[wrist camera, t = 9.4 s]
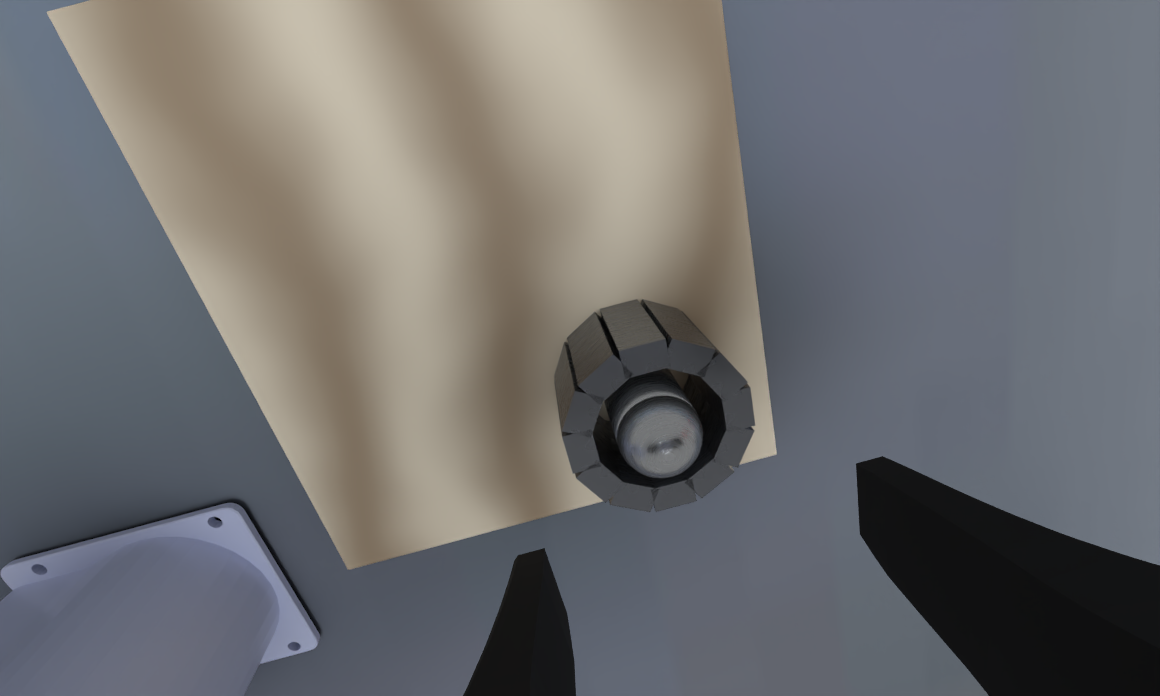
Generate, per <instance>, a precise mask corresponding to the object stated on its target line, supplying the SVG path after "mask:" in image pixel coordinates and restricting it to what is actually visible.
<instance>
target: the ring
mask: <svg viewBox="0 0 1160 696" xmlns="http://www.w3.org/2000/svg"><path fill="white" fill-rule="evenodd" d="M600 313H601V317H602V318H601V317H600V316H599V315H598V314H597V313H596V312H594V313H593V314H592V315H590V316H589V317H588V318H587V319H586V320H585V321H584V322H583V323H582V324H581V325H580V326H579V327H578V328H577V329H576V330H574V331H573V332H572V333H571V334H570V335H569V336H568V337H567V340H568V343H567V342H564V344H563V348H562V351H561V354H560V358H559V361H558V364H557V368H556V371H555V374H554V378H555V380H554V383H555V390H556V398H557V405H558V412H559V419H560V426H561V433H562V439H563V442H564V445H565V449H566V452H567V456H568V459H569V462H570V466H571V469H572V473H573V474H574V473H575V476H576V479H577V480H579V481H580V482H581V483H582V484H583V485H585V486H586V487H587V488H588V489H589V490H591V491H592V492H593V493H594V494H596V495H597V496H598V497H599V498H600V499H602V500H603V501H604V502H605V503H606V502H607V501H608V500H609V501H610V505H614V506H619V507H625V508H630V509H636V510H641V511H647V512H650V511H651V509H652V506H653V505H654V508H655V511H656V512H657V511H661V510H665V509H668V508H672V507H676V506H680V505H683V504H687V503H691V502H695V501H697V500H696V495H695V493H696V494H698V495H699V496H700V497H701V498H703V497H704V496H705V495H707V494H708V493H709V492H710V491H712V490H713V489H714V488H715V487H716V486H718V485H719V484H720V483H721V482H723V481H724V480H725V479H726V478H728V477H729V476H730V475H731V474H733V473H734V470H733V469H732V467H731V466H733V467H738V466H739V464H740V462H741V460H742V457H743V455H744V453H745V451H746V449H747V446H748V444H749V442H750V440H751V438H752V435H753V433H754V429H753V428H752V426H755V419H754V411H753V403H752V396H751V388H750V386H749V385H748V384H747V383H748V381H747V380H746V379H745V378H744V377H743V376H742V375H741V374H740V373H739V372H738V371H737V370H736V369H735V367H734V366H733V365H732V364H731V363H730V362H729V361H728V360H727V359H726V358H725V357H724V356H723V354H722V353H721V352H720V351H719V350H718V349H717V348H716V347H715V346H714V345H713V344H712V343H711V341H710V340H709V339H708V338H707V337H706V336H705V335H704V334H703V333H702V332H701V331H700V330H699V328H698V327H697V326H696V325H695V324H694V323H693V322H692V321H691V320H690V319H689V318H688V317H687V316H686V314H685V313H684V312H683V311H680V310H679V309H678V308H675V307H671V306H667V305H663V304H660V303H656V302H652V301H648V300H644V299H642V301H641V304H640V302H639V301H638V300H637V299H635V300H631V301H627V302H624V303H620V304H616V305H612V306H608V307H605V308H601V309H600ZM665 368H667V369H672V370H676V371H680V372H684V373H688V374H689V376H688V379H687V381H686V384H685V386H684V389H683V392H684V394H685V395H686V397H687V398H688V400H689V401H690V403H691V405H692V406H693V408H694V409H695V411H696V412H697V414H698V416H699V418H700V421H701V424H702V428H703V443H702V447H701V450H700V453H699V455H698V457H697V458H696V460H695V461H694V463H693V464H692V465H691V466H690V467H689V468H688V469H686V470H685V471H684V472H682V473H680V474H678V475H676V476H673V477H668V478H653V477H649V476H646V475H643V474H641V473H639V472H637V471H636V470H635V469H633V468H632V467H631V466H630V465H629V464H628V463H627V462H626V461H625V459H624V458H623V456H622V455H621V453H620V450H619V448H618V445H617V441H616V438H615V435H614V432H613V429H612V426H611V422H610V421H607V420H604V419H603V418H602V417H601V416H600V415H599V412H600V409H601V406H602V403H603V401H605V400H606V399H607V398H608V397H609V396H610V395H611V394H612V393H613V392H615V391H616V390H617V389H618V388H619V387H620V386H621V385H622V384H624V383H625V382H626V381H627V380H628V379H629V378H631V377H635V376H638V375H642V374H646V373H650V372H653V371H657V370H661V369H665Z"/></svg>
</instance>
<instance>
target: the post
mask: <svg viewBox="0 0 1160 696" xmlns="http://www.w3.org/2000/svg"><path fill="white" fill-rule="evenodd" d="M604 403H605V407H606V410H607V413H608V416H609V419H610V422H611V426H612V429H613V432H614V435H615V438H616V441H617V445H618V448H619V450H620V453H621V455H622V456H623V458H624V459H625V461H626V462H627V463H628V464H629V465H630V466H631V467H632V468H633V469H635V470H636V471H637V472H639V473H641V474H643V475H646V476H649V477H653V478H668V477H673V476H676V475H678V474H680V473H682V472H684V471H685V470H686V469H688V468H689V467H690V466H691V465H692V464H693V463H694V461H695V460H696V458H697V457H698V455H699V453H700V450H701V447H702V443H703V428H702V424H701V421H700V418H699V416H698V414H697V412H696V411H695V409H694V408H693V406H692V405H691V403H690V401H689V400H688V398H687V397H686V395H685V394H684V392H683V390H682V389H681V387H680V386H679V384H678V383H677V381H676V379H675V378H674V376H673V375H672V373H671V372H670V370H669V369H667V368H665V369H661V370H657V371H653V372H650V373H646V374H642V375H638V376H635V377H631V378H629V379H628V380H627V381H626V382H625V383H624V384H622V385H621V386H620V387H619V388H618V389H617V390H616V391H615V392H613V393H612V394H611V395H610V396H609V397H608V398H607V399H606V400H605V401H604Z"/></svg>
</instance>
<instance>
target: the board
mask: <svg viewBox="0 0 1160 696" xmlns="http://www.w3.org/2000/svg"><path fill="white" fill-rule="evenodd" d="M47 14H48V16H49V18H50V19H51V21H52V23H53V25H54V27H55V29H56V31H57V32H58V34H59V36H60V38H61V40H62V42H63V43H64V45H65V47H66V49H67V51H68V53H69V55H70V56H71V58H72V60H73V62H74V64H75V66H76V68H77V69H78V71H79V73H80V75H81V77H82V79H83V80H84V82H85V84H86V86H87V88H88V90H89V92H90V93H91V95H92V97H93V99H94V101H95V103H96V104H97V106H98V108H99V110H100V112H101V114H102V116H103V117H104V119H105V121H106V123H107V125H108V127H109V129H110V130H111V132H112V134H113V136H114V138H115V140H116V141H117V143H118V145H119V147H120V149H121V151H122V153H123V154H124V156H125V158H126V160H127V162H128V164H129V165H130V167H131V169H132V171H133V173H134V175H135V177H136V178H137V180H138V182H139V184H140V186H141V188H142V190H143V191H144V193H145V195H146V197H147V199H148V201H149V202H150V204H151V206H152V208H153V210H154V212H155V214H156V215H157V217H158V219H159V221H160V223H161V225H162V226H163V228H164V230H165V232H166V234H167V236H168V238H169V239H170V241H171V243H172V245H173V247H174V249H175V251H176V252H177V254H178V256H179V258H180V260H181V262H182V263H183V265H184V267H185V269H186V271H187V273H188V275H189V276H190V278H191V280H192V282H193V284H194V286H195V288H196V289H197V291H198V293H199V295H200V297H201V299H202V300H203V302H204V304H205V306H206V308H207V310H208V312H209V313H210V315H211V317H212V319H213V321H214V323H215V324H216V326H217V328H218V330H219V332H220V334H221V336H222V337H223V339H224V341H225V343H226V345H227V347H228V349H229V350H230V352H231V354H232V356H233V358H234V360H235V361H236V363H237V365H238V367H239V369H240V371H241V373H242V374H243V376H244V378H245V380H246V382H247V384H248V385H249V387H250V389H251V391H252V393H253V395H254V397H255V398H256V400H257V402H258V404H259V406H260V408H261V410H262V411H263V413H264V415H265V417H266V419H267V421H268V422H269V424H270V426H271V428H272V430H273V432H274V434H275V435H276V437H277V439H278V441H279V443H280V445H281V446H282V448H283V450H284V452H285V454H286V456H287V458H288V459H289V461H290V463H291V465H292V467H293V469H294V471H295V472H296V474H297V476H298V478H299V480H300V482H301V483H302V485H303V487H304V489H305V491H306V493H307V495H308V496H309V498H310V500H311V502H312V504H313V506H314V507H315V509H316V511H317V513H318V515H319V517H320V519H321V520H322V522H323V524H324V526H325V528H326V530H327V532H328V533H329V535H330V537H331V539H332V541H333V543H334V544H335V546H336V548H337V550H338V552H339V554H340V556H341V557H342V559H343V561H344V563H345V565H346V567H347V569H348V570H350V569H354V568H357V567H361V566H365V565H369V564H372V563H376V562H380V561H383V560H387V559H391V558H394V557H398V556H402V555H406V554H409V553H413V552H417V551H420V550H424V549H428V548H432V547H435V546H439V545H443V544H446V543H450V542H454V541H458V540H461V539H465V538H469V537H472V536H476V535H480V534H483V533H487V532H491V531H495V530H498V529H502V528H506V527H509V526H513V525H517V524H521V523H524V522H528V521H532V520H535V519H539V518H543V517H546V516H550V515H554V514H558V513H561V512H565V511H569V510H572V509H576V508H580V507H584V506H587V505H591V504H595V503H598V502H602V501H603V500H602V499H600V498H599V497H598V496H597V495H596V494H594V493H593V492H592V491H591V490H589V489H588V488H587V487H586V486H585V485H583V484H582V483H581V482H580V481H579V480H577V479H576V476H575V473H574V474H573V473H572V469H571V466H570V462H569V459H568V456H567V452H566V449H565V445H564V442H563V439H562V433H561V426H560V419H559V412H558V405H557V398H556V390H555V383H554V380H555V378H554V374H555V371H556V368H557V364H558V361H559V358H560V354H561V351H562V348H563V344H564V342H567V343H568V340H567V337H568V336H569V335H570V334H571V333H572V332H573V331H574V330H576V329H577V328H578V327H579V326H580V325H581V324H582V323H583V322H584V321H585V320H586V319H587V318H588V317H589V316H590V315H592V314H593V313H594V312H596V313H597V314H598V315H599V316H600V317H601V313H600V309H601V308H605V307H608V306H612V305H616V304H620V303H624V302H627V301H631V300H635V299H637V300H638V301H639V302H640V304H641V301H642V299H644V300H648V301H652V302H656V303H660V304H663V305H667V306H671V307H675V308H678V309H679V310H680V311H683V312H684V313H685V314H686V316H687V317H688V318H689V319H690V320H691V321H692V322H693V323H694V324H695V325H696V326H697V327H698V328H699V330H700V331H701V332H702V333H703V334H704V335H705V336H706V337H707V338H708V339H709V340H710V341H711V343H712V344H713V345H714V346H715V347H716V348H717V349H718V350H719V351H720V352H721V353H722V354H723V356H724V357H725V358H726V359H727V360H728V361H729V362H730V363H731V364H732V365H733V366H734V367H735V369H736V370H737V371H738V372H739V373H740V374H741V375H742V376H743V377H744V378H745V379H746V380H747V381H748V383H747V384H748V385H749V386H750V388H751V396H752V403H753V411H754V419H755V426H752V428H753V429H754V433H753V435H752V438H751V440H750V442H749V444H748V446H747V449H746V451H745V453H744V455H743V457H742V460H741V462H740V464H743V463H747V462H750V461H754V460H758V459H762V458H765V457H769V456H773V455H776V454H777V452H776V444H775V436H774V428H773V419H772V411H771V403H770V395H769V387H768V378H767V370H766V362H765V354H764V346H763V337H762V329H761V321H760V313H759V305H758V296H757V288H756V280H755V272H754V264H753V255H752V247H751V239H750V231H749V223H748V214H747V206H746V198H745V190H744V182H743V173H742V165H741V157H740V149H739V141H738V132H737V124H736V116H735V108H734V100H733V91H732V83H731V75H730V67H729V59H728V50H727V42H726V34H725V26H724V18H723V9H722V1H721V0H90V1H86V2H82V3H79V4H75V5H71V6H67V7H63V8H60V9H56V10H52V11H48V12H47ZM601 318H602V317H601ZM669 370H670V372H671V373H672V375H673V376H674V378H675V379H676V381H677V383H678V384H679V386H680V387H681V389H682V390H683V389H684V386H685V384H686V381H687V379H688V376H689V374H688V373H684V372H680V371H676V370H672V369H669ZM599 415H600V416H601V417H602V418H603V419H604V420H607V421H610V419H609V416H608V413H607V410H606V407H605V403H604V401H603V403H602V406H601V409H600V412H599ZM731 467H732V466H731Z"/></svg>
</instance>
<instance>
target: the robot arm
mask: <svg viewBox="0 0 1160 696" xmlns="http://www.w3.org/2000/svg"><path fill="white" fill-rule="evenodd" d="M856 470H857V488H858V507H859V525H860V535H861V536H862V538H863V539H864V541H865V543H866V544H867V546H868V547H869V549H870V550H871V552H872V553H873V555H874V556H875V558H876V559H877V561H878V562H879V564H880V565H881V566H882V568H883V569H884V571H885V572H886V574H887V575H888V576H889V578H890V579H891V580H892V581H893V582H894V584H895V585H896V586H897V587H898V588H899V590H900V591H901V592H902V593H903V594H904V595H905V597H906V598H907V599H908V600H909V601H910V602H911V604H912V605H913V606H914V607H915V608H916V610H917V611H918V612H919V613H920V614H921V615H922V616H923V618H924V619H925V620H926V621H927V622H928V623H929V625H930V626H931V627H932V628H933V629H934V630H935V632H936V633H937V634H938V635H939V636H940V637H941V639H942V640H943V641H944V642H945V643H946V644H947V645H948V647H949V648H950V649H951V650H952V651H953V652H954V654H955V655H956V656H957V657H958V658H959V659H960V661H961V662H962V663H963V664H964V665H965V666H966V668H967V669H968V670H969V671H970V672H971V674H972V675H973V676H974V677H975V679H976V680H977V681H978V682H979V684H980V685H981V686H982V687H983V689H984V690H985V691H986V692H987V694H988V695H989V696H1160V566H1159V565H1156V564H1152V563H1149V562H1146V561H1142V560H1139V559H1136V558H1132V557H1129V556H1126V555H1123V554H1120V553H1117V552H1114V551H1111V550H1108V549H1105V548H1102V547H1099V546H1096V545H1093V544H1090V543H1087V542H1084V541H1081V540H1078V539H1075V538H1072V537H1070V536H1067V535H1064V534H1061V533H1058V532H1056V531H1053V530H1051V529H1048V528H1045V527H1043V526H1040V525H1038V524H1035V523H1033V522H1030V521H1028V520H1025V519H1023V518H1020V517H1018V516H1015V515H1013V514H1010V513H1008V512H1005V511H1003V510H1001V509H998V508H996V507H994V506H991V505H989V504H987V503H984V502H982V501H980V500H978V499H975V498H973V497H971V496H968V495H966V494H964V493H962V492H960V491H957V490H955V489H953V488H951V487H949V486H946V485H944V484H942V483H940V482H938V481H936V480H933V479H931V478H929V477H927V476H925V475H923V474H921V473H918V472H916V471H914V470H912V469H910V468H908V467H905V466H903V465H901V464H899V463H897V462H894V461H892V460H890V459H887V458H885V457H883V456H882V457H879V458H875V459H871V460H867V461H864V462H860V463H856ZM214 517H217V518H220V519H221V520H222V521H218V520H216V519H215V518H214ZM1 577H2V579H3V580H4V581H5V582H6V584H7V585H8V586H9V587H10V588H11V589H12V591H11V592H10V593H9V594H8V595H7V596H6V597H5V598H3V599H2V600H1V601H0V696H244V694H245V692H246V690H247V688H248V686H249V684H250V682H251V680H252V678H253V676H254V674H255V672H256V670H257V668H258V666H259V664H262V663H265V662H269V661H273V660H277V659H280V658H284V657H288V656H291V655H295V654H299V653H302V652H306V651H310V650H312V649H315V647H316V646H317V645H318V642H319V639H320V635H319V632H318V631H317V629H316V627H315V626H314V624H313V622H312V621H311V619H310V618H309V616H308V614H307V613H306V611H305V609H304V608H303V606H302V604H301V603H300V601H299V599H298V598H297V596H296V594H295V593H294V591H293V589H292V588H291V586H290V584H289V583H288V581H287V580H286V578H285V576H284V575H283V573H282V571H281V570H280V568H279V566H278V565H277V563H276V561H275V560H274V558H273V556H272V555H271V553H270V551H269V550H268V548H267V546H266V545H265V543H264V541H263V540H262V538H261V537H260V535H259V533H258V532H257V530H256V528H255V527H254V525H253V523H252V522H251V520H250V518H249V517H248V515H247V513H246V512H245V510H244V509H243V508H242V507H241V506H240V505H238V504H235V503H225V504H221V505H217V506H213V507H210V508H206V509H202V510H199V511H195V512H191V513H187V514H184V515H180V516H176V517H173V518H169V519H165V520H161V521H158V522H154V523H150V524H146V525H143V526H139V527H135V528H132V529H128V530H124V531H120V532H117V533H113V534H109V535H106V536H102V537H98V538H94V539H91V540H87V541H83V542H79V543H76V544H72V545H68V546H65V547H61V548H57V549H53V550H50V551H46V552H42V553H39V554H35V555H31V556H27V557H24V558H20V559H16V560H13V561H11V562H9V563H8V564H7V565H6V566H4V567H3V568H2V570H1ZM296 642H297V643H296ZM463 696H576V688H575V668H574V657H573V649H572V642H571V636H570V629H569V623H568V616H567V612H566V609H565V606H564V603H563V601H562V598H561V595H560V592H559V589H558V586H557V583H556V580H555V578H554V575H553V572H552V569H551V566H550V563H549V560H548V557H547V555H546V552H545V549H540V550H536V551H533V552H529V553H525V554H522V555H518V556H517V558H516V559H515V561H514V564H513V568H512V572H511V575H510V578H509V582H508V585H507V588H506V591H505V594H504V597H503V600H502V603H501V606H500V609H499V612H498V614H497V617H496V620H495V622H494V625H493V627H492V630H491V633H490V635H489V638H488V641H487V643H486V646H485V648H484V650H483V653H482V655H481V657H480V660H479V662H478V664H477V666H476V669H475V671H474V673H473V675H472V678H471V680H470V682H469V685H468V687H467V689H466V691H465V693H464V695H463Z"/></svg>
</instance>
